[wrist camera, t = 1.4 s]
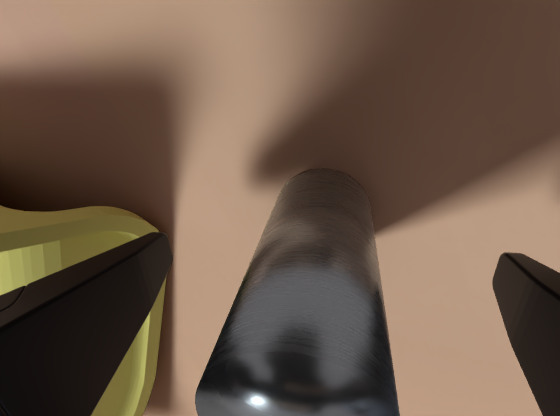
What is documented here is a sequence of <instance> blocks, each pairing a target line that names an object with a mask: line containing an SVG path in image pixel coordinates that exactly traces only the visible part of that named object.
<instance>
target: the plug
mask: <svg viewBox="0 0 560 416" xmlns="http://www.w3.org/2000/svg"><path fill="white" fill-rule="evenodd" d="M195 404H196V410H197V413H198V416H400V413H399V406H398V399H397V392H396V385H395V377H394V370H393V363H392V356H391V349H390V342H389V335H388V327H387V320H386V313H385V306H384V299H383V292H382V285H381V277H380V270H379V263H378V256H377V249H376V242H375V235H374V227H373V220H372V213H371V206H370V202H369V198H368V196H367V194H366V192H365V191H364V189H363V188H362V187H361V186H360V184H359V183H358V182H356V181H355V180H354V179H353V178H351V177H350V176H348V175H346V174H344V173H342V172H339V171H335V170H330V169H314V170H309V171H306V172H303V173H301V174H298V175H297V176H295V177H293V178H292V179H291V180H290V181H288V182H287V184H286V185H285V186H284V187H283V189H282V190H281V192H280V194H279V196H278V199H277V201H276V203H275V206H274V208H273V210H272V213H271V215H270V217H269V220H268V222H267V224H266V227H265V229H264V232H263V234H262V236H261V239H260V241H259V243H258V246H257V248H256V250H255V253H254V255H253V258H252V260H251V262H250V265H249V267H248V269H247V272H246V274H245V276H244V279H243V281H242V284H241V286H240V288H239V291H238V293H237V295H236V298H235V300H234V302H233V305H232V307H231V309H230V312H229V314H228V317H227V319H226V321H225V324H224V326H223V328H222V331H221V333H220V335H219V338H218V340H217V343H216V345H215V347H214V350H213V352H212V354H211V357H210V359H209V361H208V364H207V366H206V369H205V371H204V373H203V376H202V378H201V380H200V383H199V385H198V387H197V391H196V395H195Z"/></svg>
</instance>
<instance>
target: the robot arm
mask: <svg viewBox="0 0 560 416" xmlns="http://www.w3.org/2000/svg"><path fill="white" fill-rule="evenodd" d="M172 260H173V256H172V251H171V247H170V243H169V238H168V236H167V234H166V233H163V232H151V233H148V234H146V235H144V236H141V237H139V238H136V239H134V240H132V241H129V242H127V243H124V244H122V245H120V246H117V247H115V248H113V249H110V250H108V251H105V252H103V253H101V254H98V255H96V256H93V257H91V258H89V259H86V260H84V261H81V262H79V263H77V264H74V265H72V266H69V267H67V268H65V269H62V270H60V271H58V272H55V273H53V274H50V275H48V276H46V277H43V278H41V279H38V280H36V281H34V282H31V283H29V284H27V286H22V287H19V288H17V289H14V290H12V291H10V292H7V293H5V294H2V295H0V416H91V415H92V413H93V411H94V410H95V408H96V406H97V404H98V402H99V401H100V399H101V397H102V395H103V394H104V392H105V390H106V388H107V387H108V385H109V383H110V381H111V380H112V378H113V376H114V374H115V373H116V371H117V369H118V367H119V366H120V364H121V362H122V360H123V359H124V357H125V355H126V353H127V352H128V350H129V348H130V346H131V344H132V343H133V341H134V339H135V337H136V336H137V334H138V332H139V330H140V329H141V327H142V325H143V323H144V322H145V320H146V318H147V316H148V315H149V313H150V311H151V309H152V307H153V305H154V303H155V301H156V299H157V296H158V294H159V292H160V290H161V287H162V285H163V283H164V280H165V278H166V276H167V273H168V271H169V269H170V267H171V264H172ZM492 283H493V290H494V293H495V296H496V299H497V302H498V306H499V309H500V312H501V315H502V318H503V321H504V325H505V328H506V331H507V334H508V337H509V340H510V343H511V345H512V348H513V350H514V352H515V355H516V357H517V359H518V361H519V364H520V366H521V368H522V370H523V372H524V375H525V377H526V379H527V381H528V384H529V386H530V388H531V390H532V393H533V395H534V397H535V399H536V401H537V404H538V406H539V408H540V410H541V413H542V415H543V416H560V273H559V272H557V271H555V270H553V269H551V268H549V267H547V266H545V265H543V264H541V263H539V262H537V261H536V260H534V259H532V258H530V257H528V256H526V255H524V254H521V253H503V254H501V256H500V258H499V261H498V264H497V267H496V270H495V273H494V277H493V282H492Z"/></svg>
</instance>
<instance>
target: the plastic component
mask: <svg viewBox="0 0 560 416" xmlns="http://www.w3.org/2000/svg"><path fill="white" fill-rule="evenodd" d="M151 232H159V231H158V230H157V229H156V228H155V227H154V226H152V225H151V224H149V223H148V222H147V221H145V220H144V219H142V218H141V217H140V216H138V215H136V214H134V213H132V212H130V211H127V210H124V209H120V208H116V207H109V206H89V207H82V208H76V209H69V210H62V211H51V212H34V211H21V210H15V209H10V208H6V207H3V206H1V205H0V295H2V294H5V293H7V292H10V291H12V290H14V289H17V288H19V287H22V286H27V284H29V283H31V282H34V281H36V280H38V279H41V278H43V277H46V276H48V275H50V274H53V273H55V272H58V271H60V270H62V269H65V268H67V267H69V266H72V265H74V264H77V263H79V262H81V261H84V260H86V259H89V258H91V257H93V256H96V255H98V254H101V253H103V252H105V251H108V250H110V249H113V248H115V247H117V246H120V245H122V244H124V243H127V242H129V241H132V240H134V239H136V238H139V237H141V236H144V235H146V234H148V233H151ZM165 285H166V278H165V280H164V283H163V285H162V287H161V290H160V292H159V294H158V296H157V299H156V301H155V303H154V305H153V307H152V309H151V311H150V313H149V315H148V316H147V318H146V320H145V322H144V323H143V325H142V327H141V329H140V330H139V332H138V334H137V336H136V337H135V339H134V341H133V343H132V344H131V346H130V348H129V350H128V352H127V353H126V355H125V357H124V359H123V360H122V362H121V364H120V366H119V367H118V369H117V371H116V373H115V374H114V376H113V378H112V380H111V381H110V383H109V385H108V387H107V388H106V390H105V392H104V394H103V395H102V397H101V399H100V401H99V402H98V404H97V406H96V408H95V410H94V411H93V413H92V415H91V416H142V415H143V413H144V411H145V408H146V405H147V403H148V400H149V397H150V394H151V391H152V387H153V384H154V380H155V377H156V368H157V359H158V350H159V340H160V331H161V322H162V313H163V303H164V294H165Z"/></svg>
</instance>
